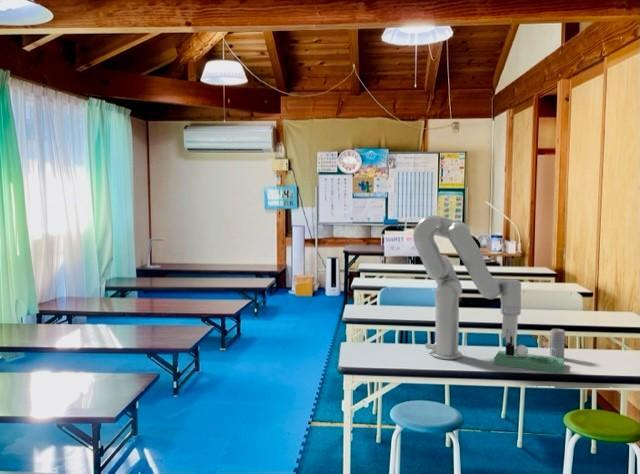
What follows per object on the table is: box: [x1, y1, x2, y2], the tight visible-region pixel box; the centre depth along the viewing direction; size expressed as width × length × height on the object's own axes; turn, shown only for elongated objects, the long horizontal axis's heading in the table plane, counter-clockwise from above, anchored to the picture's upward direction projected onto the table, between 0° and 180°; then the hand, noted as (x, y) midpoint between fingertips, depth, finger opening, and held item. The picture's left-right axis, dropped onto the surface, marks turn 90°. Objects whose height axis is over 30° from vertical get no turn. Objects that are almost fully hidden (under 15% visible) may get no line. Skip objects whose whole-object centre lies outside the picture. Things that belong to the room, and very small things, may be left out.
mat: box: [493, 350, 565, 374], centre depth 220 cm, size 25×12×2 cm, turn 63°
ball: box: [515, 344, 529, 357], centre depth 221 cm, size 5×5×5 cm
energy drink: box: [549, 328, 566, 359], centre depth 228 cm, size 5×5×12 cm
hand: (510, 354), depth 222 cm, fingers closed
